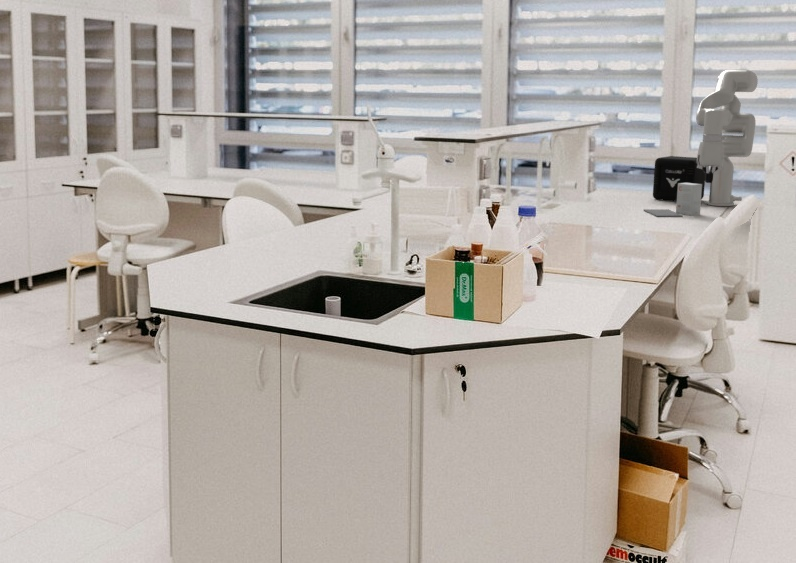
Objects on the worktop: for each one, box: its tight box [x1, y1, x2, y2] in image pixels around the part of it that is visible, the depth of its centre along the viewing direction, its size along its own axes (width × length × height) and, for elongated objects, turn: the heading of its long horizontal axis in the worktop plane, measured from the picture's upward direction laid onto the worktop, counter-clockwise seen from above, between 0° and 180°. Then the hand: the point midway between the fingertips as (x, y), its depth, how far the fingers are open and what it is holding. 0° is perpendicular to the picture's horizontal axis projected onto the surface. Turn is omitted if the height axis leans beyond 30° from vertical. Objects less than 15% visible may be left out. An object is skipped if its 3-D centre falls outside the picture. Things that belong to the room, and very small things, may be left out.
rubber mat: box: [643, 208, 684, 218], centre depth 392 cm, size 11×18×1 cm, turn 3°
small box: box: [675, 183, 702, 216], centre depth 391 cm, size 8×6×13 cm
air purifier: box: [652, 155, 706, 202], centre depth 435 cm, size 20×15×20 cm
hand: (708, 182), depth 390 cm, fingers closed
